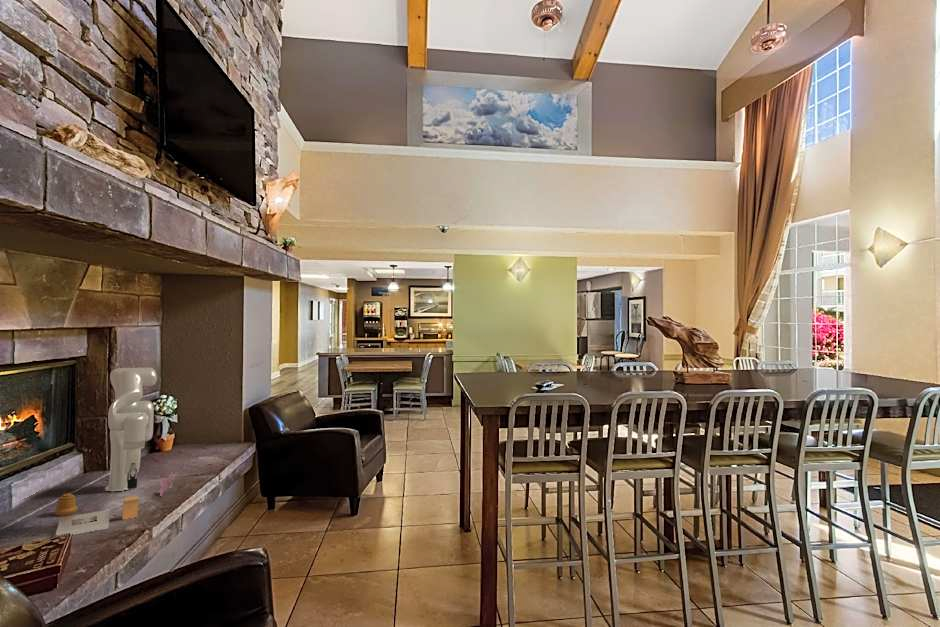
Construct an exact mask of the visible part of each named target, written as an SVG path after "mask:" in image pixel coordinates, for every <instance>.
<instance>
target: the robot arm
mask: <svg viewBox="0 0 940 627" xmlns="http://www.w3.org/2000/svg"><path fill="white" fill-rule="evenodd" d="M109 380H110V384H111V386H112V388H113V391H114V397H115V398H114V400H113V402H112V403H111V405H110V406H109V408H108V412H107V414H108V415H107V417H108V418H107V421H108V422H107V423H108V424H107V425H108V428H109V430H110V431H109V440H110V463H109V465H110V466H109V467H110V468H109V482H108V485H106V487H104V491H105V492H107V491H122V492H125V491H124V490H127V491H130V490H129V489H131V490H133V489H136V488H138V477H137V476H138V475H137V474H138V473H139V472H140V464H141V455H142V454H141V452H142V449H144V448H145V444H146V442H147V441H150V440H152V438H153V434H154V417H155V415H154V414H155V412H154V411H155V410H154V403H153V402H152V401H150V400H142V398H143V396H144V394H143V391H144V390H143V387H152V386H155V384H157V380H158V374H157V372H156V370H155V369H154V368H153V367H145V366H144V367H120V368H114V369H112V370H111V372H110V374H109Z"/></svg>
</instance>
